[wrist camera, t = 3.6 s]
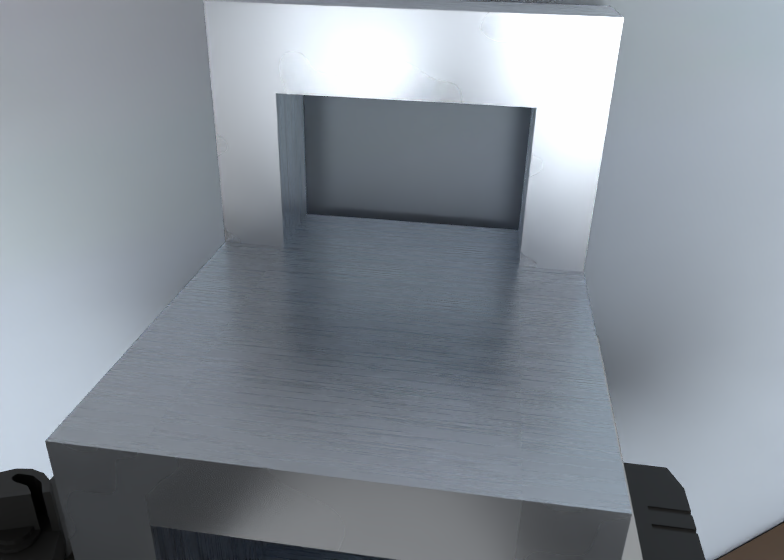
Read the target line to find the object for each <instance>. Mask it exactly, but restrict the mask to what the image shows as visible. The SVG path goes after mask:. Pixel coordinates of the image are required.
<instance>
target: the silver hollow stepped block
mask: <svg viewBox="0 0 784 560" xmlns="http://www.w3.org/2000/svg"><path fill="white" fill-rule="evenodd" d="M203 2H204V13H205V24H206V35H207V46H208V57H209V68H210V78H211V89H212V100H213V111H214V122H215V133H216V144H217V155H218V166H219V177H220V188H221V199H222V210H223V221H224V232H225V243H224V244H223V245H222V246H221V247H220V248H219V249H218V251H217V252H216V253H215V254H214V255H213V256H212V257H211V258H210V259H209V260H208V262H207V263H206V264H205V265H204V266H203V267H202V268H201V269H200V270H199V272H198V273H197V274H196V275H195V276H194V277H193V278H192V279H191V280H190V281H189V283H188V284H187V285H186V286H185V287H184V288H183V289H182V290H181V291H180V293H179V294H178V295H177V296H176V297H175V298H174V299H173V300H172V301H171V302H170V304H169V305H168V306H167V307H166V308H165V309H164V310H163V311H162V312H161V314H160V315H159V316H158V317H157V318H156V319H155V320H154V321H153V322H152V323H151V325H150V326H149V327H148V328H147V329H146V330H145V331H144V332H143V333H142V335H141V336H140V337H139V338H138V339H137V340H136V341H135V342H134V343H133V344H132V346H131V347H130V348H129V349H128V350H127V351H126V352H125V353H124V354H123V356H122V357H121V358H120V359H119V360H118V361H117V362H116V363H115V364H114V365H113V367H112V368H111V369H110V370H109V371H108V372H107V373H106V374H105V375H104V377H103V378H102V379H101V380H100V381H99V382H98V383H97V384H96V385H95V386H94V388H93V389H92V390H91V391H90V392H89V393H88V394H87V395H86V396H85V398H84V399H83V400H82V401H81V402H80V403H79V404H78V405H77V406H76V407H75V409H74V410H73V411H72V412H71V413H70V414H69V415H68V416H67V417H66V418H65V420H64V421H63V422H62V423H61V424H60V425H59V426H58V427H57V428H56V430H55V431H54V432H53V433H52V434H51V435H50V436H49V437H48V438H47V439H46V441H45V442H46V446H47V450H48V454H49V458H50V462H51V466H52V470H53V474H54V478H55V482H56V486H57V491H58V495H59V499H60V503H61V507H62V511H63V515H64V519H65V523H66V527H67V531H68V535H69V539H70V543H71V547H72V551H73V555H74V559H75V560H621V559H622V555H623V551H624V546H625V542H626V538H627V533H628V529H629V525H630V520H631V516H632V511H631V506H630V501H629V496H628V491H627V486H626V481H625V476H624V471H623V466H622V461H621V456H620V451H619V446H618V441H617V436H616V431H615V426H614V421H613V416H612V411H611V406H610V401H609V396H608V391H607V386H606V381H605V376H604V371H603V366H602V361H601V356H600V351H599V346H598V341H597V336H596V331H595V326H594V321H593V316H592V311H591V306H590V301H589V296H588V291H587V286H586V281H585V276H584V267H585V260H586V254H587V248H588V241H589V235H590V229H591V222H592V216H593V210H594V203H595V197H596V191H597V185H598V178H599V172H600V166H601V159H602V153H603V147H604V140H605V134H606V128H607V121H608V115H609V109H610V102H611V96H612V90H613V83H614V77H615V71H616V64H617V58H618V52H619V45H620V39H621V33H622V27H623V20H624V17H623V16H622V15H620V14H619V13H618V12H617V11H616V10H615V9H613V8H612V7H611V6H600V5H573V4H546V3H520V2H493V1H467V0H205V1H203ZM303 95H317V96H335V97H353V98H371V99H389V100H407V101H425V102H443V103H460V104H478V105H496V106H514V107H532V111H531V120H530V129H529V138H528V147H527V157H526V166H525V175H524V184H523V193H522V202H521V212H520V221H519V230H510V229H497V228H484V227H471V226H458V225H445V224H433V223H420V222H407V221H394V220H381V219H368V218H355V217H342V216H329V215H316V214H307V198H306V169H305V140H304V112H303Z"/></svg>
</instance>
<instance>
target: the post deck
mask: <svg viewBox="0 0 784 560" xmlns="http://www.w3.org/2000/svg"><path fill="white" fill-rule="evenodd" d="M718 560H784V523H782V524H780V525H779V526H777V527H775V528H773V529H771V530H770V531H768V532H766V533H764V534H763V535H761V536H759V537H757V538H755V539H754V540H752V541H750V542H748V543H746V544H745V545H743V546H741V547H739V548H737V549H736V550H734V551H732V552H730V553H728V554H727V555H725V556H723V557H721V558H719V559H718Z"/></svg>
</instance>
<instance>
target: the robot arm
mask: <svg viewBox="0 0 784 560" xmlns="http://www.w3.org/2000/svg"><path fill="white" fill-rule="evenodd" d="M597 341H598V346H599V351H600V356H601V361H602V366H603V371H604V376H605V381H606V386H607V391H608V396H609V401H610V406H611V411H612V416H613V421H614V426H615V431H616V436H617V441H618V446H619V451H620V456H621V461H622V466H623V471H624V476H625V481H626V486H627V491H628V496H629V501H630V506H631V511H632V516H631V520H630V525H629V529H628V533H627V538H626V542H625V546H624V551H623V555H622V559H621V560H705V557H704V554H703V550H702V547H701V544H700V540H699V537H698V534H696V527H695V523H694V520H693V517H692V515H691V510H690V507H689V503H688V500H687V497H686V493H685V490H684V488H683V487H682V486H681V484H680V483H679V482H678V481H677V480H676V478H675V477H674V476H673V475H672V474H671V472H670V471H669V470H668V469H667V468H664V467H656V466H647V465H639V464H630V463H623V458H622V453H621V448H620V443H619V438H618V433H617V428H616V423H615V419H614V414H613V409H612V404H611V399H610V394H609V389H608V384H607V379H606V374H605V369H604V364H603V359H602V354H601V349H600V344H599V339H598V336H597ZM0 560H75V559H74V555H73V551H72V547H71V543H70V539H69V535H68V531H67V527H66V523H65V519H64V515H63V511H62V507H61V503H60V499H59V495H58V491H57V486H56V482H55V478H54V476H53V477H52V478H51V480H49V479H48V478H47V476H46V475H45V474H44V473H42V472H39V471H36V470H33V469H13V470H8V471H4V472H0Z"/></svg>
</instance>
